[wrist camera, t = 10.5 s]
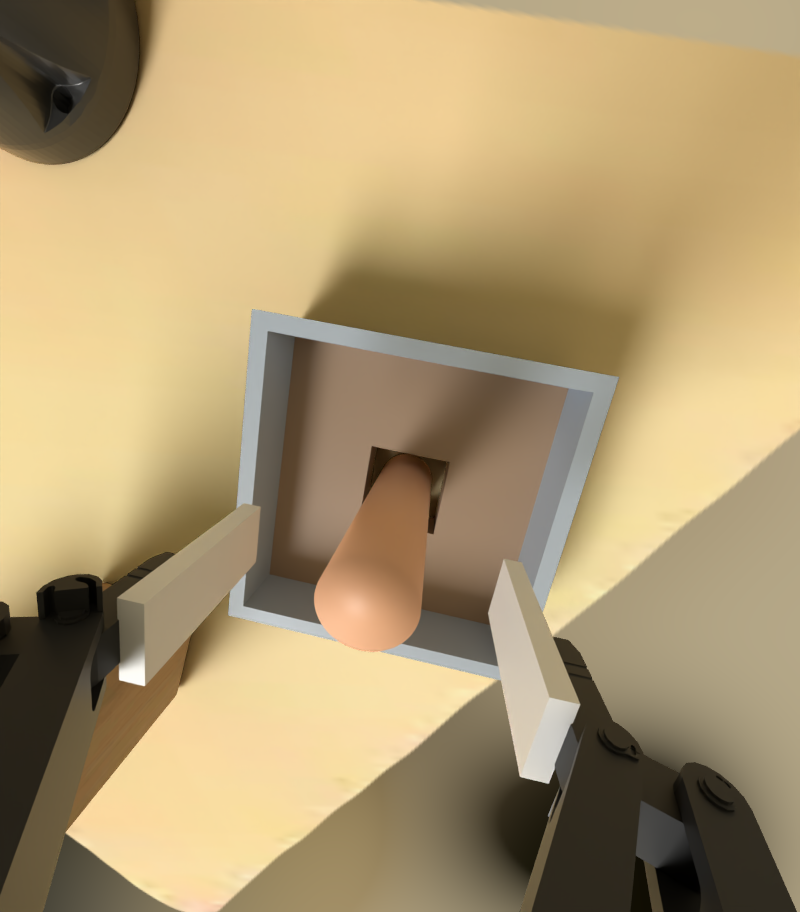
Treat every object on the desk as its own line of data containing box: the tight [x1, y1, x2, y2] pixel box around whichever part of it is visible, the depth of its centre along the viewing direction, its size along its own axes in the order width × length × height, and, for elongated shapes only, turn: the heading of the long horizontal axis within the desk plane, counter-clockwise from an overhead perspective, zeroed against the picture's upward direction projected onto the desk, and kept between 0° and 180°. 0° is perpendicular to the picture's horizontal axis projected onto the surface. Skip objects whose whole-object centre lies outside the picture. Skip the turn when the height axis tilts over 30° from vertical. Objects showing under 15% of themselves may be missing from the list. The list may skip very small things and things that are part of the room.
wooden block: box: [66, 583, 191, 831], centre depth 26 cm, size 10×10×20 cm
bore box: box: [228, 309, 619, 680], centre depth 26 cm, size 20×20×7 cm
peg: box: [314, 454, 432, 652], centre depth 21 cm, size 4×4×16 cm
